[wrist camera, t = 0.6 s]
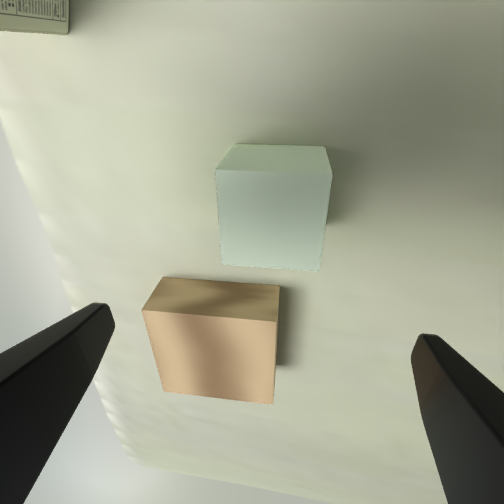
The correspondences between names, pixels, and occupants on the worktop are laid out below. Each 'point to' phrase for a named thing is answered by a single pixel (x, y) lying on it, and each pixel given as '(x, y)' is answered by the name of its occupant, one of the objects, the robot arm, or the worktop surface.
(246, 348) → the oak block
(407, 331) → the worktop surface
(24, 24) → the skincare box
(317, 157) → the sage block
